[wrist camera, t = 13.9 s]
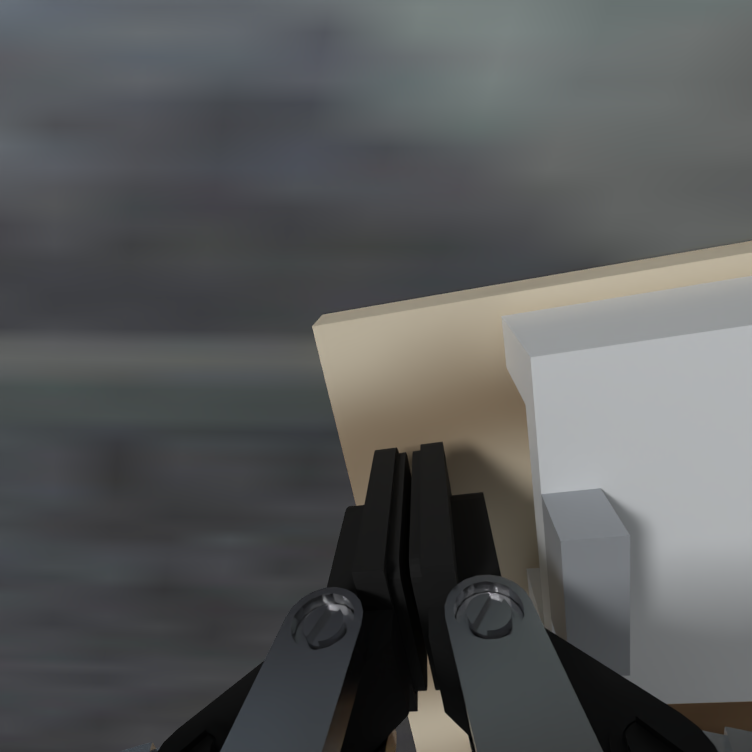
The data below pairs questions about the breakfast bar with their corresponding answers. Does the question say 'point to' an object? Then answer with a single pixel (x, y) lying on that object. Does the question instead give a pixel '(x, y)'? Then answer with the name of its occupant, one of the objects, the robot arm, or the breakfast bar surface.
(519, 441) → the board
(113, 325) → the breakfast bar surface
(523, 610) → the robot arm
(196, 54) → the breakfast bar surface
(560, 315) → the cover
